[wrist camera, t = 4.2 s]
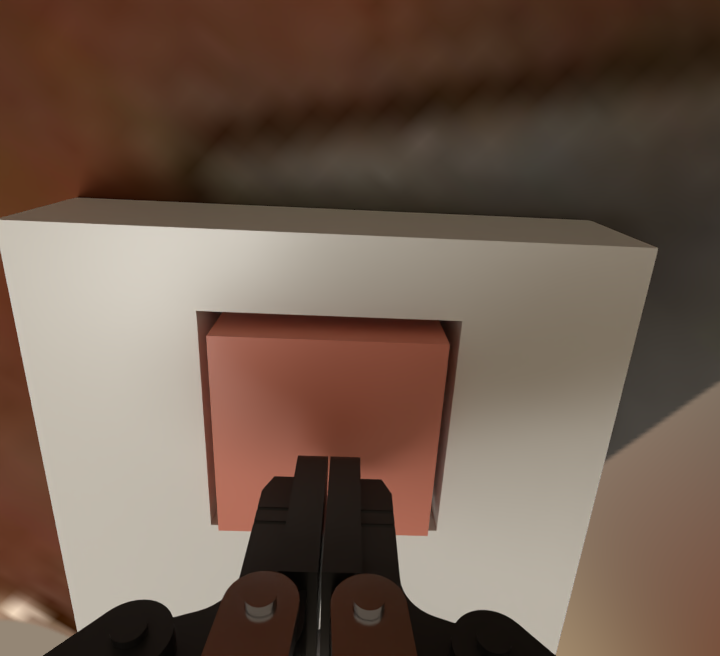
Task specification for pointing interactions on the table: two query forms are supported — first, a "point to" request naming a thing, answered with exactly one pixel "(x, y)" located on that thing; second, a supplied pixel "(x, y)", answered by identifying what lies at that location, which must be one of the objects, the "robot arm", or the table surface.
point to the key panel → (322, 298)
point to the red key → (325, 405)
